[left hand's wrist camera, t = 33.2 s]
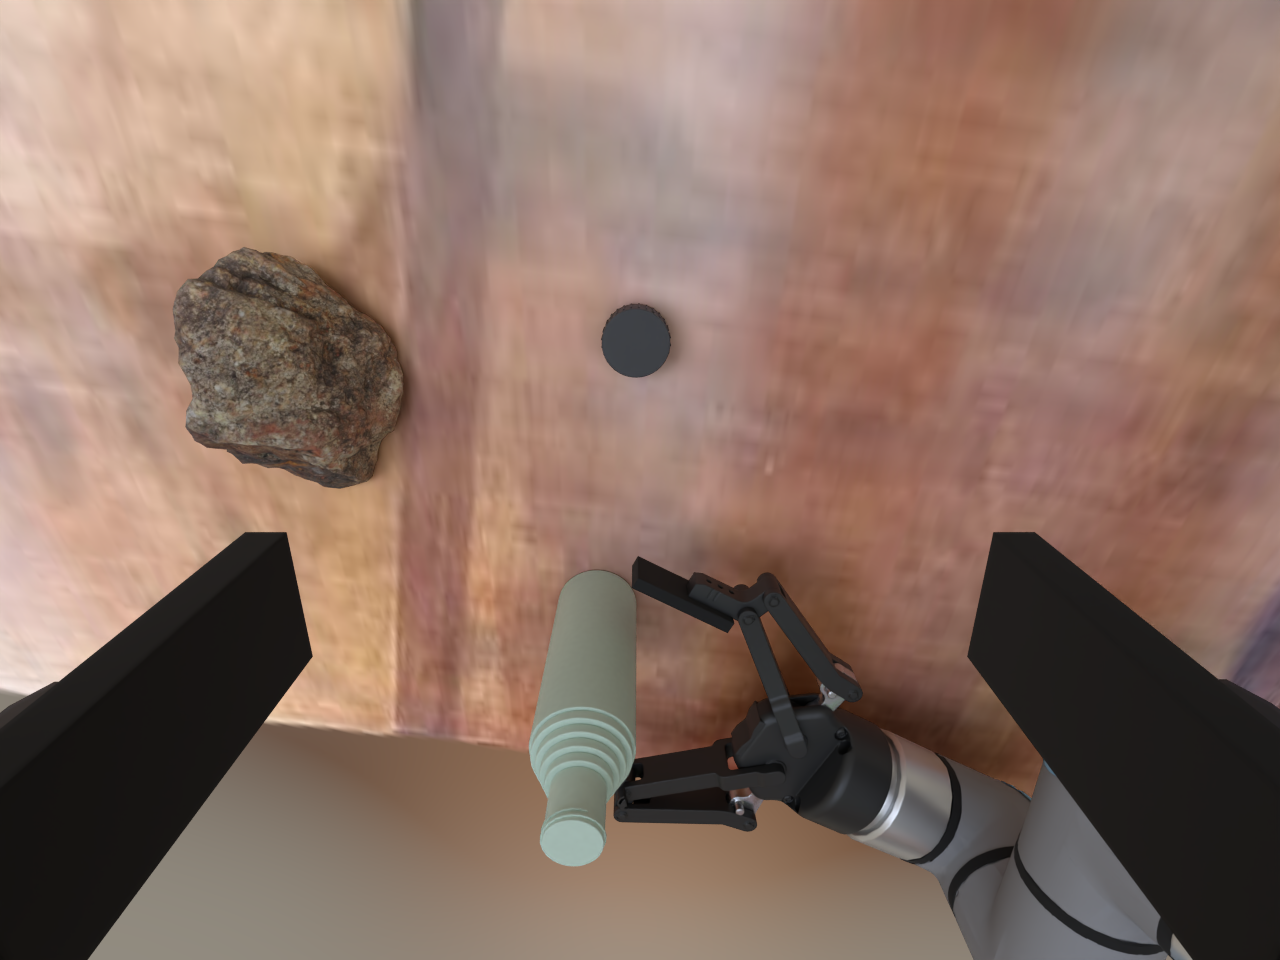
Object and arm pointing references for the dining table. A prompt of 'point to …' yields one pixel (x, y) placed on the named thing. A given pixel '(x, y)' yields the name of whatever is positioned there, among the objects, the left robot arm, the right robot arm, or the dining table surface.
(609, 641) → the bottle
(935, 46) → the dining table surface
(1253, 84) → the dining table surface
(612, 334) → the cap
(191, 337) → the rock
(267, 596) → the left robot arm
